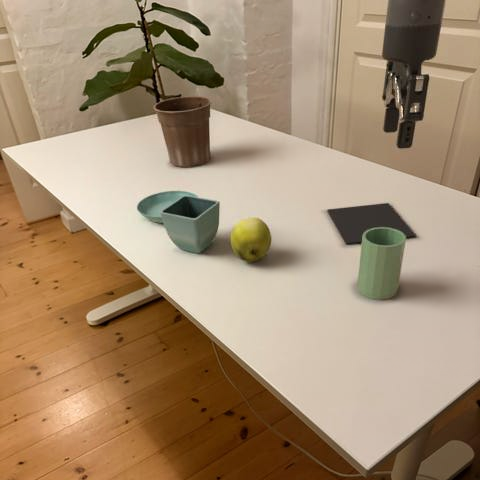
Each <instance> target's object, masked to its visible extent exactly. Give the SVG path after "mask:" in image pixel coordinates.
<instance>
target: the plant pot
mask: <svg viewBox="0 0 480 480" xmlns="http://www.w3.org/2000/svg"><path fill="white" fill-rule="evenodd" d="M211 105H212V99H210V98H209V97H206V96H197V95H196V96H194V95H193V96H191V95H190V96H177V97H172V98H167V99H164V100H160V101H159V102H158V103H155V104H154V105H153V110H154V111H155V113H156V117H157V121H158V123H159V124H160V128H161V131H162V135H163V140H164V143H165V146H166V150H167V151H166V152H167V154H168V159H169V162H170V164H171V165H172V166H174V167H176V168H177V167H178V168H193V167H196V165H199V166H201V165H204V164H206V163H208V162H209V161H210V159H211V137H210V135H211V134H210V133H211V132H210V118H211Z"/></svg>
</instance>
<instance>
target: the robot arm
mask: <svg viewBox="0 0 480 480" xmlns="http://www.w3.org/2000/svg"><path fill="white" fill-rule="evenodd" d="M446 1H447V0H387V6H386V7H387V8H386V14H385V15H386V16H385V25H384V32H383V33H384V34H383V35H384V36H383V42H382V51H381V58H382V59H383V60H385V61H386V67H385V75H384V82H383V83H384V84H383V89H382V90H383V91H382V95H381V99H382V101H384V102H383V106H384V108H385V110H384V119H383V126H382V130H383V132H384V133H386V134H388V133H396V132H397V137H396V138H397V139H396V144H395V145H396V147H397V149H400V150H402V149H410V148H411V147H412V146H413V141H414V136H415V129H416V124H417V123H418V122H422V121H423V119H424V117H425V115H424V114H425V108H426V102H427V97H428V96H427V95H428V89H429V83H430V82H429V81H430V74H429V73H426V74H425V73H422V68H423V67H422V65H423V63H424V62H425V61H430V60H432V59H433V60H434V58H435V57H436V55H437V52H438V47H439V41H440V35H441V29H442V23H443V18H444V13H445V7H446ZM411 109H412V111H411Z"/></svg>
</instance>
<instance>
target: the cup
mask: <svg viewBox="0 0 480 480" xmlns="http://www.w3.org/2000/svg"><path fill="white" fill-rule="evenodd" d="M406 241H407V238H406V236H405V235H404V233H403V232H401V231H399V230H397V229H393V228H388V227H377V228H372V229H369V230H367V231H365V232H364V233H363V236H362V243H361V244H360V245H361V246H360V256H359V266H358V274H357V275H358V276H357V288H356V289H357V291H358V293H359V294H360V295H362V296H363V297H365V298H367V299H371V300H374V301H375V300H377V301H383V300H388V299H391V298H393V297H395V296H396V295H397V294H398V289H399V284H400V278H401V271H402V265H403V261H404V260H403V259H404V254H405V253H404V252H405V249H406V248H405V246H406Z"/></svg>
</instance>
